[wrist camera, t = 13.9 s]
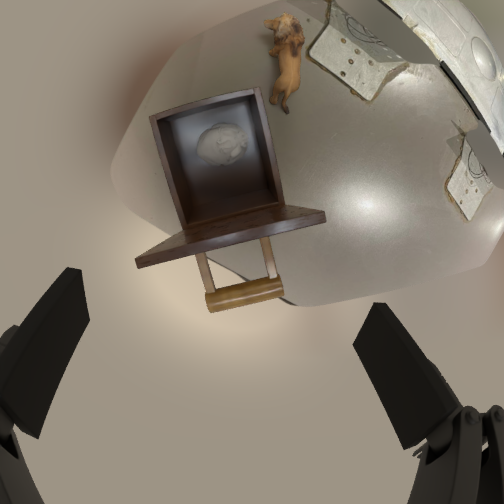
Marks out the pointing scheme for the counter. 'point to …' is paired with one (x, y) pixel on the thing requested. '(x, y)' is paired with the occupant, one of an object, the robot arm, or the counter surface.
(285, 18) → the lion figurine
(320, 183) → the counter surface
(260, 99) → the chest
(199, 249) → the chest lid
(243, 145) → the frog figurine
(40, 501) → the robot arm
